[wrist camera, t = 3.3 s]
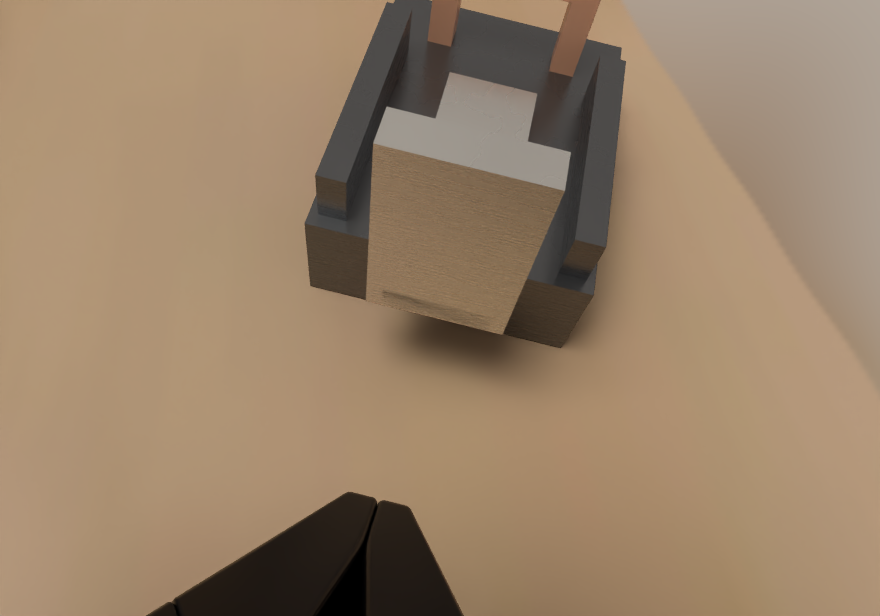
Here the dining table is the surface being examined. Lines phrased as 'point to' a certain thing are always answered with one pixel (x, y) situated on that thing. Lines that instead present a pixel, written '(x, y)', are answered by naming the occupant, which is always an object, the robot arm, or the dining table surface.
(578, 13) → the lug
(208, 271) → the dining table surface
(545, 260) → the grey walled tray
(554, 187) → the tapered wooden notched block
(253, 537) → the dining table surface
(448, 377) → the dining table surface
